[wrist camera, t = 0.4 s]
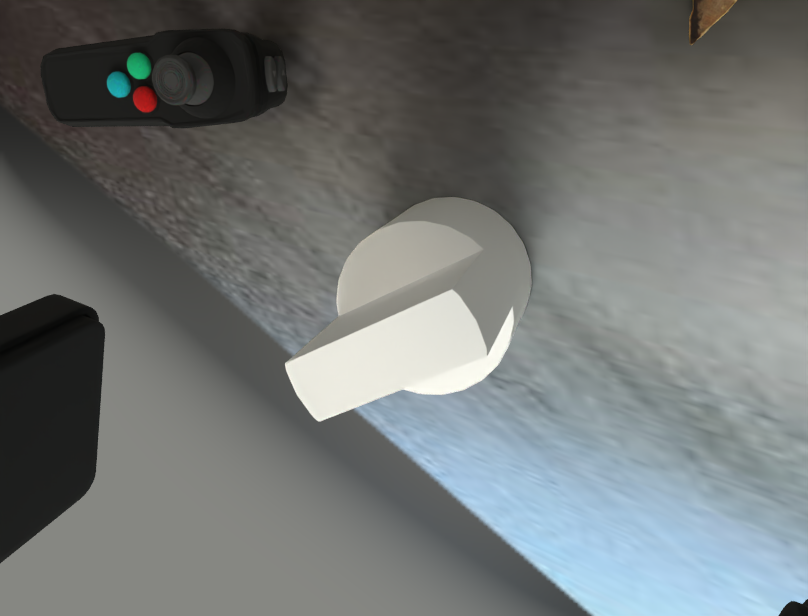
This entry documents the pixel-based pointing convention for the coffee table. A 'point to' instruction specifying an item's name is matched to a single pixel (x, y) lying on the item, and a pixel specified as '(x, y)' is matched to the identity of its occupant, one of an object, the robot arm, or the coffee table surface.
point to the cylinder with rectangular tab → (418, 309)
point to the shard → (706, 16)
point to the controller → (165, 80)
